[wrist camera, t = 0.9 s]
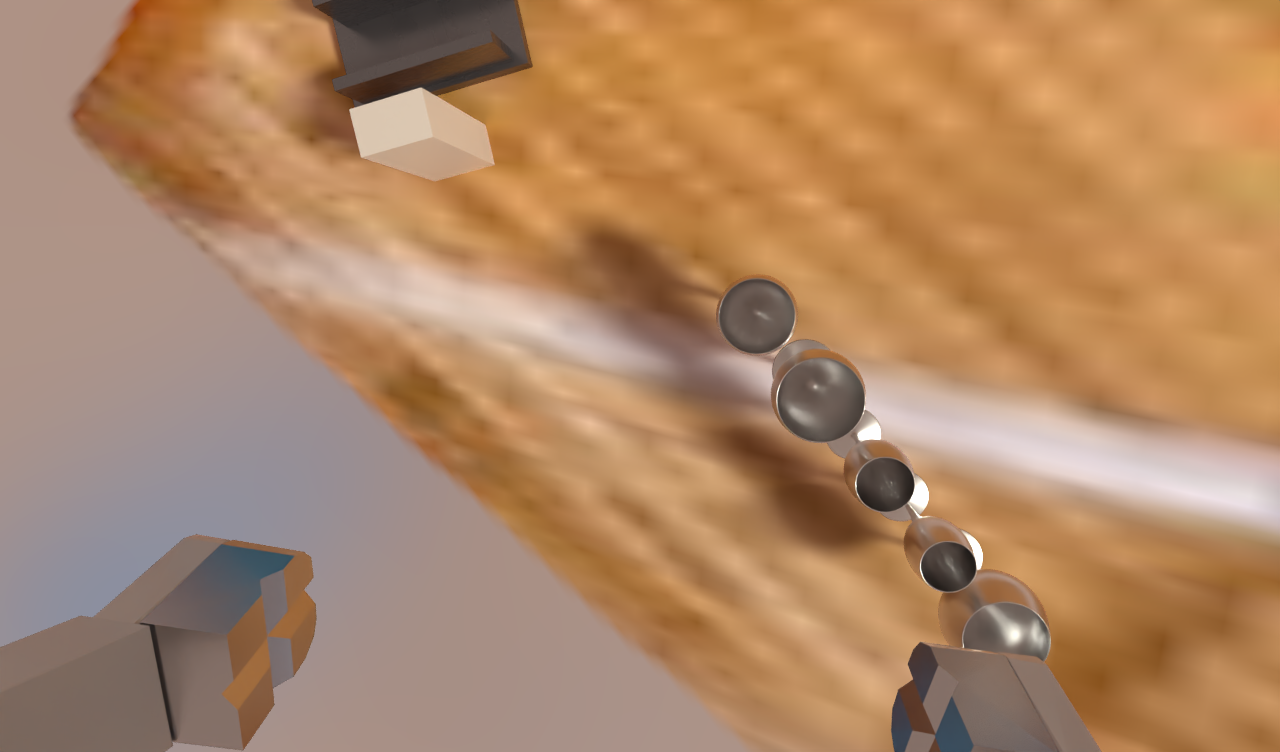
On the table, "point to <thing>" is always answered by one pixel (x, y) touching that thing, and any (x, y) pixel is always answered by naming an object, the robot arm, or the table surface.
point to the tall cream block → (421, 136)
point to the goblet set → (880, 472)
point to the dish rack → (424, 44)
